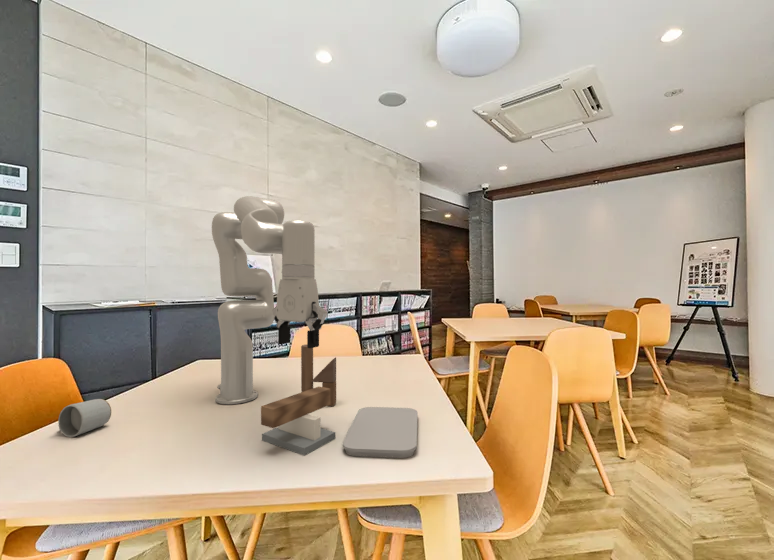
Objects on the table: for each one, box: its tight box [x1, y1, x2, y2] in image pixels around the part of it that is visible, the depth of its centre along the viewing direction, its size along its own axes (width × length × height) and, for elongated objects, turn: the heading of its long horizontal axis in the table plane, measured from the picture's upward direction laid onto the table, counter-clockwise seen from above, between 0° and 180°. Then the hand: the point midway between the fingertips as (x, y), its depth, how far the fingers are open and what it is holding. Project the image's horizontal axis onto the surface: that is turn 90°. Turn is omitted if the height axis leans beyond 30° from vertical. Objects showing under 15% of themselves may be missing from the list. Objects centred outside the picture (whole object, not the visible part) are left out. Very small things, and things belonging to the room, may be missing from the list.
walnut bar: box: [260, 386, 330, 429], centre depth 85 cm, size 18×4×4 cm, turn 147°
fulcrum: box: [261, 413, 336, 456], centre depth 85 cm, size 14×10×6 cm
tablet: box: [342, 406, 419, 459], centre depth 88 cm, size 16×26×2 cm, turn 175°
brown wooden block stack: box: [300, 344, 337, 407], centre depth 110 cm, size 4×11×18 cm, turn 83°
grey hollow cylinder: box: [57, 398, 112, 438], centre depth 91 cm, size 11×8×8 cm
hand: (298, 345), depth 85 cm, fingers open, 9 cm apart
